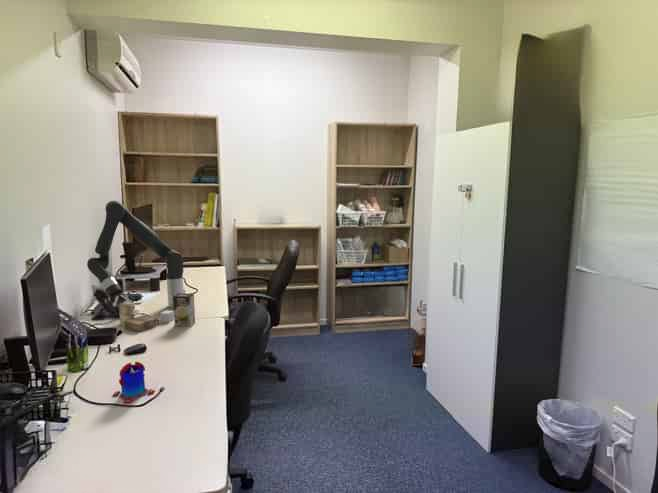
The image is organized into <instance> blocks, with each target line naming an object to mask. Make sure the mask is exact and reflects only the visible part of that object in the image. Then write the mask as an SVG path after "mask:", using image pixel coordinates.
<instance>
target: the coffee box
mask: <svg viewBox="0 0 658 493" xmlns="http://www.w3.org/2000/svg"><path fill="white" fill-rule="evenodd" d="M173 302H174V308H173V311H174V320H173V321H174V326H175V327H192V326H194V325H195V324H196V314H195V313H196V312H195V311H196V308H195V293H186V292H185V293H178V294H176V295H175V296H173Z"/></svg>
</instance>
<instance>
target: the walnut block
mask: <svg viewBox="0 0 658 493" xmlns="http://www.w3.org/2000/svg"><path fill="white" fill-rule="evenodd" d="M157 322H158V321H157V318H155V317H152V316H147V315H144V314H143V315H139V316H137V317H134V318H132V319H129V320H126V321H124V325H123V326H124V330H125V329H126V330H128V331H132V332H135V333H141V332H143V331H147V330H150V329H152V328H155V327H158V323H157Z"/></svg>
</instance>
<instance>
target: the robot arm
mask: <svg viewBox="0 0 658 493" xmlns="http://www.w3.org/2000/svg"><path fill="white" fill-rule="evenodd" d="M104 209H105V213H106V215H105V221H104V225H103V228H102V230H101V232H100V234H99V236H98V239H97V242H96V245H95V248H94V252H95V253H96V254H98V255H99V257H91V258H89V259H88V260H87V264H86V265H87V268H88V271H90V273H91V274H93V276H94V277H96V278H97V280H98V281H99V283H100V284H101V286H102V289H103V291H104V292H105V295H107V297H105V299H104V303H105V305H106V307H107V309H108V310H113V312H114V314H116V315H117V316H118V315H120V312H119V307H117V305H119V304H120V303H124V302H131V303H133V307H134V310H135V305H134V302H135V301H136V300H135V298H134V297H133V295H132V294H131V292H129V291H128V292H126V293H124V292H123V289H122V287H121V285H120V284H119V282H118V281H117V280H116V278H115V277H114V275H113V274H112V272H111V271H110V270H108V269H107V268H108V267H109V265H110V250H111V248H112V245H113V241H114V238H115V234H116V231H117V229H118V225H119V224H121V225H123V226H124V227H125V228H126V230H127V231H128V232H129V233H130V234H131V235H132V237H134V238H135V239H136V240H137V241H139V242H140V243H141V244H142V245H144V246H145V247H146V248H148V249H149V250H150V251H153V252H154V253H155V254H157V255H158V256H159V257H160V259H161V260H162V261H163V262H164V263H165V264H166V267H167V268H166V270H167V271H166V274H165V275H166V276H165V278H166V290H167V291H166V292H167V306H168V308H171V309H172V308H173V309H174V302H173V296H175V295H176V294H178V293H186V289H185V288H184V276H183V275H184V259H183V255H182V254H181V253H180V252H179V251H176V250H174V249H173V248H172V247H169V245H167V244H166V243H165V242H164V241H163V240H162V239H161V237H160V236H159V235H158V234H157V233H156V232H155V231H154V230H153V229H152V228H150V227H149V226H148V225H147V224H145V223H144V222H143V221H141V220H140V219H139V218H137V217H135V216H134V215H133V214H132V213H131V212H130V211H129V210H128V209H127V208H126V207H125V206H124V204H122V202H120V201H117V200H110V201H109V202H107V203H106V205H105V208H104ZM111 302H112V303H111Z"/></svg>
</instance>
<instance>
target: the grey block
mask: <svg viewBox="0 0 658 493" xmlns="http://www.w3.org/2000/svg"><path fill="white" fill-rule="evenodd" d="M159 315H160V317H159V318H160V323H171V322H173V321H175V320H174V310H167V309H166V310H163V311H162V312H160V313H159Z"/></svg>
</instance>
